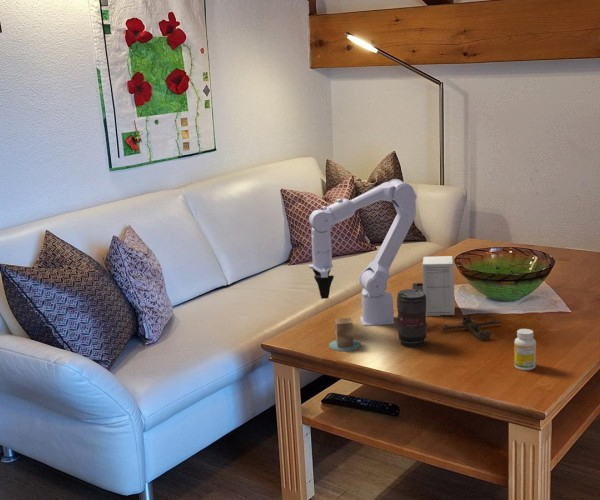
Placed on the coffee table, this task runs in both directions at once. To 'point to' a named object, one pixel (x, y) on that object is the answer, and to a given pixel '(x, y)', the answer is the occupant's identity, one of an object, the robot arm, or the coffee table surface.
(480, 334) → the dark cross-shaped bracket
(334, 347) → the coaster
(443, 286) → the supplement box
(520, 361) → the supplement bottle
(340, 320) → the walnut block
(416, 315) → the camera lens
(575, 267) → the coffee table surface
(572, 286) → the coffee table surface
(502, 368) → the coffee table surface
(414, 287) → the vhs tape
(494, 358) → the coffee table surface
